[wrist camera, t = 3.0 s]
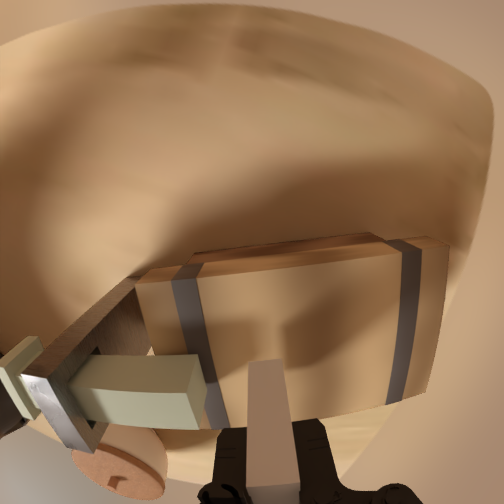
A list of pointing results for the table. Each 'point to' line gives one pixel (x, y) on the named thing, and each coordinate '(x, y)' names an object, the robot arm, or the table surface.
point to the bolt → (119, 387)
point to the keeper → (75, 353)
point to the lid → (305, 324)
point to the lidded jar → (127, 462)
